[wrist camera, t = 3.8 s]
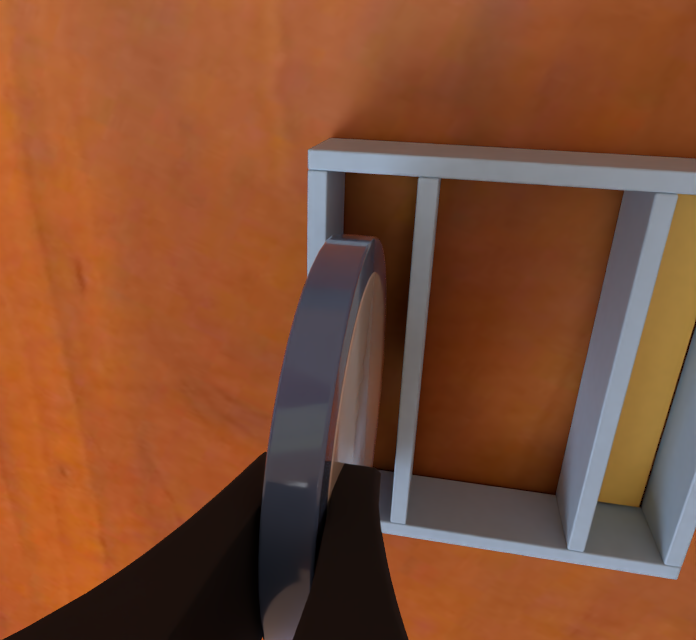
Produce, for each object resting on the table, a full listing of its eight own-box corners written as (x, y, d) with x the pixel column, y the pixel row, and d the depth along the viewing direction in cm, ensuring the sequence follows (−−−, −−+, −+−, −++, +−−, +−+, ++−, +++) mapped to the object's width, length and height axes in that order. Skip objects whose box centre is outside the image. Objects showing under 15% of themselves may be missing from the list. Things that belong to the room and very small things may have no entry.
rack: (652, 520, 19) (677, 580, 17) (322, 472, 21) (305, 521, 19) (766, 162, 14) (822, 179, 12) (329, 137, 16) (307, 148, 14)
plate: (376, 476, 19) (310, 782, 11) (348, 472, 19) (261, 771, 11) (395, 199, 15) (318, 339, 7) (360, 196, 15) (245, 331, 7)
